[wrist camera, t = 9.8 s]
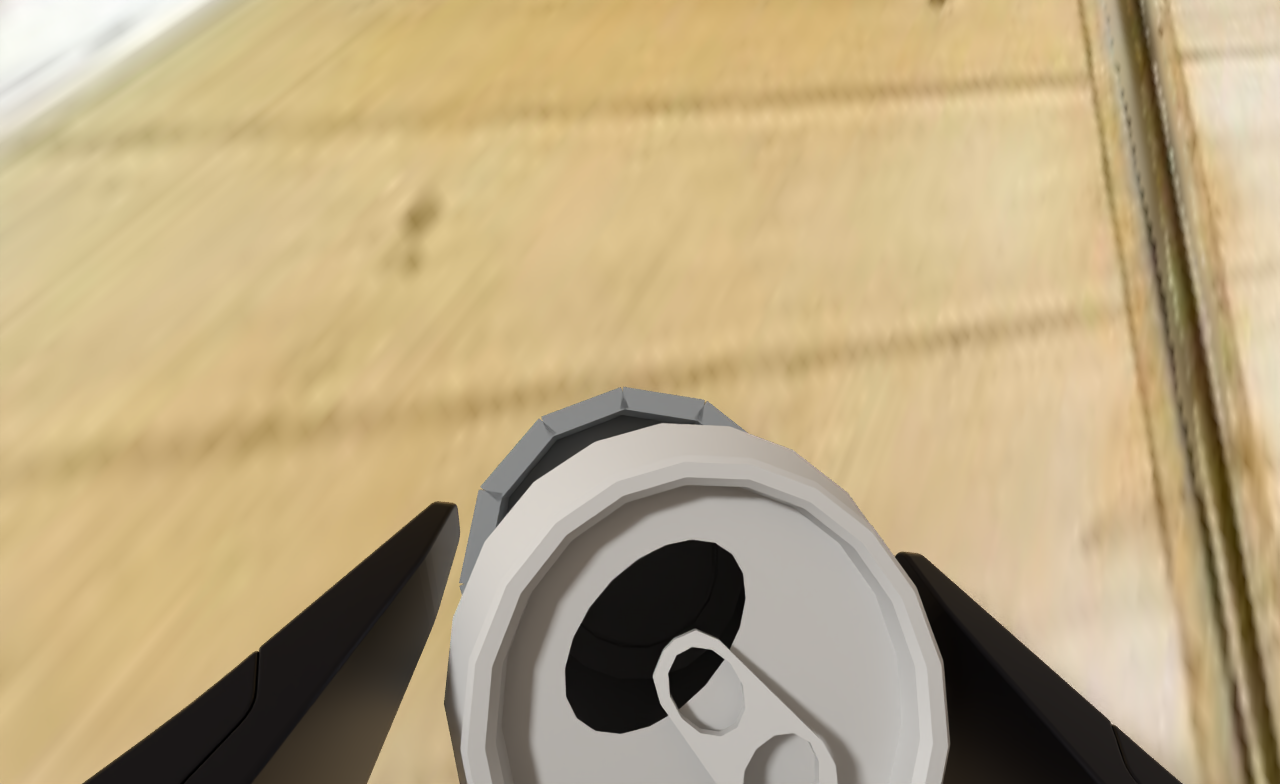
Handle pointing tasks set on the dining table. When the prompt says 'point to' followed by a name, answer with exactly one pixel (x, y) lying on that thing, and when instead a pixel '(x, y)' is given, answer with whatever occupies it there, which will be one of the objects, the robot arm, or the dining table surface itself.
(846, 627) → the can
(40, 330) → the dining table surface
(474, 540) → the ring coaster
